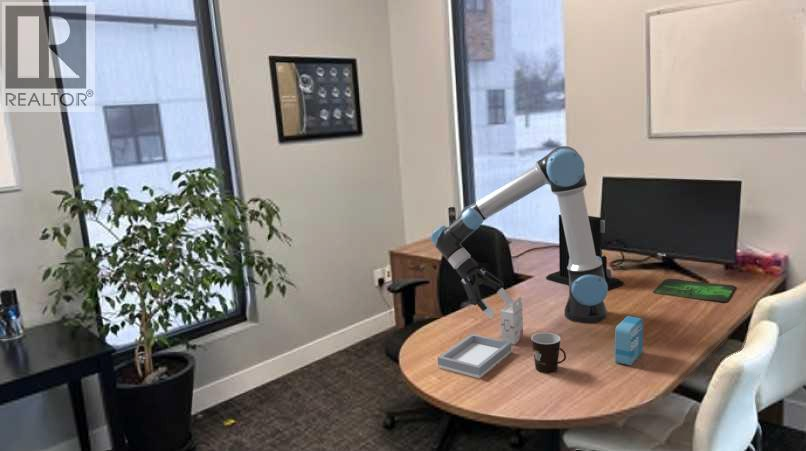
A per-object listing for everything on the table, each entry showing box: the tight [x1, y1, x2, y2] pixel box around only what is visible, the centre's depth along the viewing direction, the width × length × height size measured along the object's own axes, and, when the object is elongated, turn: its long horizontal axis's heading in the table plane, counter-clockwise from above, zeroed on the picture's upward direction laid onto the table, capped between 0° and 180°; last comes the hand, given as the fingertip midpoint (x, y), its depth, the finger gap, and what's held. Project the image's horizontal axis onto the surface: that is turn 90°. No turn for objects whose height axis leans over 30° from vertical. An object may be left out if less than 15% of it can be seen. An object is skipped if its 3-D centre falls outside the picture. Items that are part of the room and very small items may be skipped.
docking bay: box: [437, 333, 513, 379], centre depth 185 cm, size 15×21×4 cm
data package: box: [614, 315, 644, 366], centre depth 177 cm, size 12×4×12 cm, turn 140°
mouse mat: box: [652, 278, 737, 304], centre depth 233 cm, size 27×22×1 cm
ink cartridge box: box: [499, 296, 524, 346], centre depth 197 cm, size 9×5×15 cm, turn 148°
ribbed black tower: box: [545, 213, 625, 291], centre depth 251 cm, size 30×19×30 cm, turn 34°
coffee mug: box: [530, 332, 567, 374], centre depth 173 cm, size 12×9×10 cm
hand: (502, 310), depth 198 cm, fingers open, 13 cm apart
